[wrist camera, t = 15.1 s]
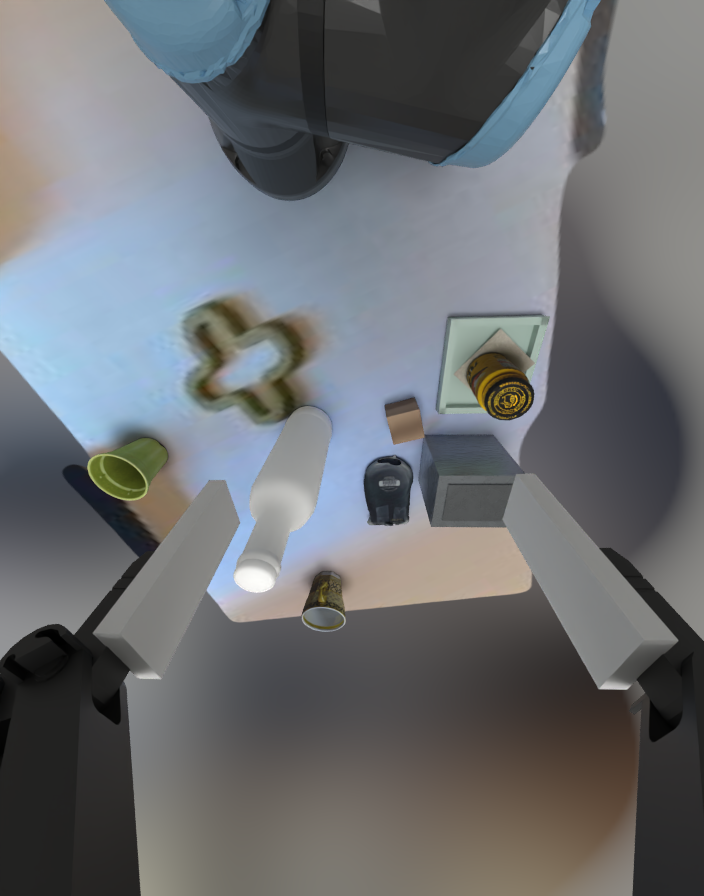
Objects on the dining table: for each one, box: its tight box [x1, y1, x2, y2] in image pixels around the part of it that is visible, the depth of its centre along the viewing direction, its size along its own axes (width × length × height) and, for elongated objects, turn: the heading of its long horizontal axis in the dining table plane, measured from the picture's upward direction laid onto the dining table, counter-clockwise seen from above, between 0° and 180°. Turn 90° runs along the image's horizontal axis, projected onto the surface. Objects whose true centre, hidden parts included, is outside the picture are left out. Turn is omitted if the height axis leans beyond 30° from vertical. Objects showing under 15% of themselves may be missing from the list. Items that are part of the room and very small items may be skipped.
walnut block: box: [385, 398, 425, 445], centre depth 46 cm, size 5×5×5 cm
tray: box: [436, 315, 550, 414], centre depth 43 cm, size 14×13×2 cm
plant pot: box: [88, 438, 168, 500], centre depth 50 cm, size 9×9×9 cm
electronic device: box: [364, 455, 413, 526], centre depth 55 cm, size 9×6×15 cm
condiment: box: [453, 329, 535, 420], centre depth 37 cm, size 7×8×12 cm
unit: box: [419, 435, 525, 527], centre depth 47 cm, size 10×12×12 cm
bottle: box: [233, 406, 332, 593], centre depth 37 cm, size 8×8×30 cm
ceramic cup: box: [301, 572, 346, 632], centre depth 67 cm, size 13×10×10 cm
